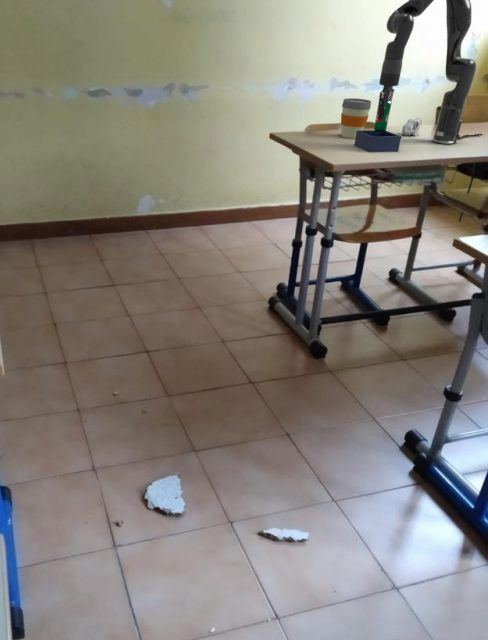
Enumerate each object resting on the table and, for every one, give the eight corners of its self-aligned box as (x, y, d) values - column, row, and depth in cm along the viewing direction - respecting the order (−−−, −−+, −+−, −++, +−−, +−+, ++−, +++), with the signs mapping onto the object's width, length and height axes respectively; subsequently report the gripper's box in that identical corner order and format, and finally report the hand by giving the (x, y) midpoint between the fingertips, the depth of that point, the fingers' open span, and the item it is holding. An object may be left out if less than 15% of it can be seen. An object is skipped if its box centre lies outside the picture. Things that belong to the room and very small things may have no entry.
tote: (381, 144, 265) (384, 130, 262) (398, 151, 254) (401, 136, 251) (354, 145, 262) (356, 130, 258) (369, 152, 251) (372, 137, 248)
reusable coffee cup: (340, 139, 272) (346, 102, 263) (334, 133, 282) (340, 97, 274) (368, 139, 272) (375, 103, 264) (360, 134, 283) (367, 98, 274)
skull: (395, 128, 283) (409, 108, 283) (400, 142, 289) (414, 122, 290) (410, 130, 278) (424, 109, 278) (415, 144, 284) (429, 123, 285)
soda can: (386, 132, 252) (392, 100, 245) (373, 131, 253) (379, 99, 246) (385, 130, 256) (391, 98, 249) (373, 129, 257) (379, 98, 250)
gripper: (396, 74, 235) (386, 121, 245) (404, 71, 245) (395, 116, 255) (376, 72, 238) (368, 119, 248) (386, 69, 248) (377, 114, 258)
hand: (382, 117), depth 251 cm, fingers closed on soda can, 5 cm apart
